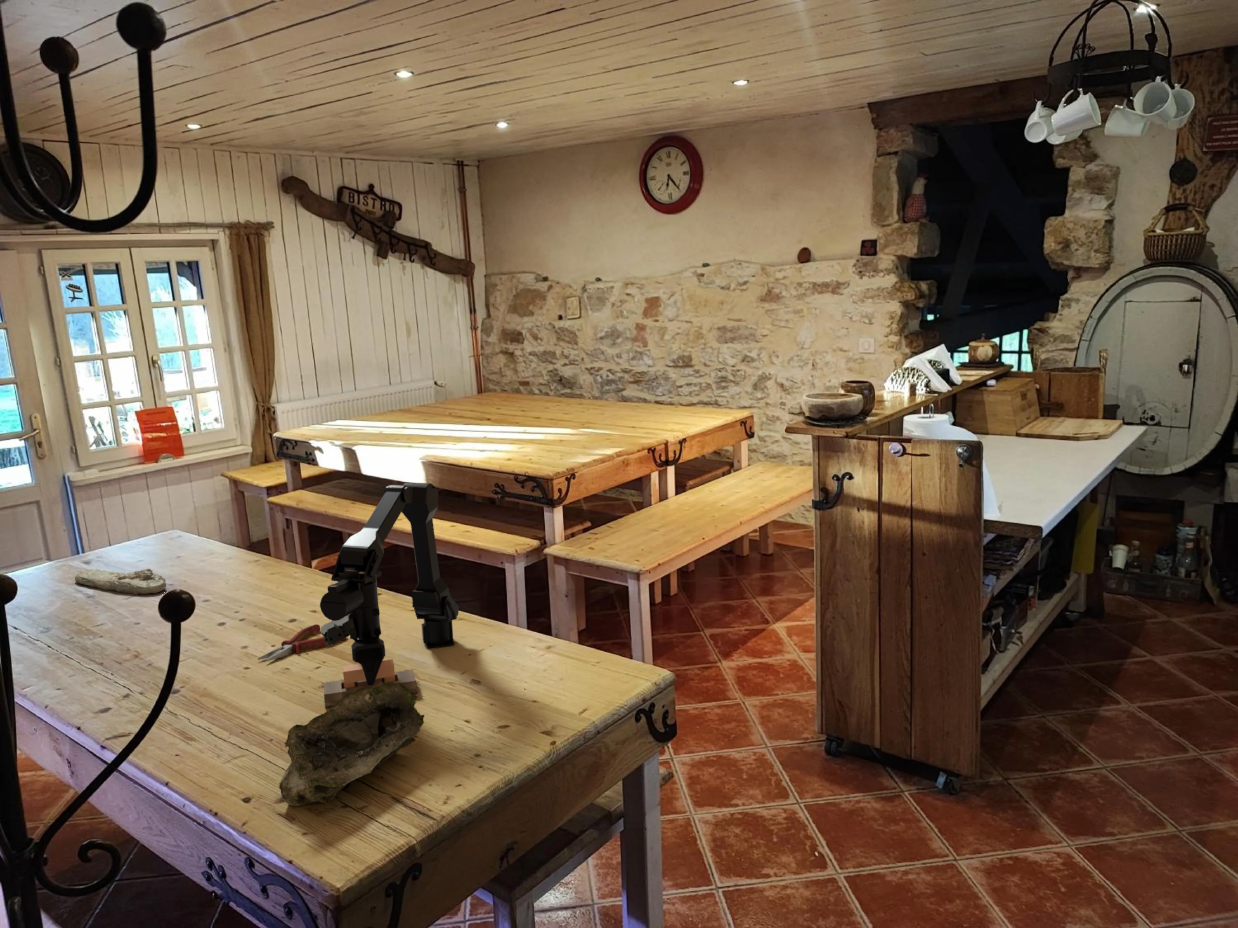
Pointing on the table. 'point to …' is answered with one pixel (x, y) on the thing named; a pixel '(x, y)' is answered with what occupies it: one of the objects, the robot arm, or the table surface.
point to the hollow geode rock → (348, 742)
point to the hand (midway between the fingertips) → (369, 675)
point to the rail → (336, 688)
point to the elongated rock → (123, 581)
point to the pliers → (297, 644)
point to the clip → (357, 674)
